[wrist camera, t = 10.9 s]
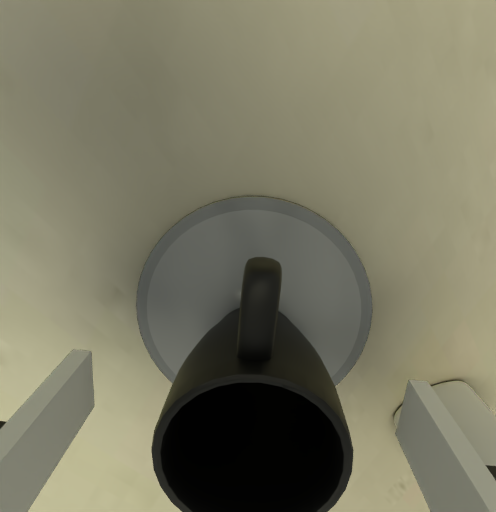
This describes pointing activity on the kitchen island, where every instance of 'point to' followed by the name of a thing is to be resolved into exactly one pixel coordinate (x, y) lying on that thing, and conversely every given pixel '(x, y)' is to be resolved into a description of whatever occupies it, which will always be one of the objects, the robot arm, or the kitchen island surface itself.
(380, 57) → the kitchen island surface
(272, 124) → the kitchen island surface
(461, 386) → the eye dropper bottle
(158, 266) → the round gray plate
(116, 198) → the kitchen island surface
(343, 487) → the mug
